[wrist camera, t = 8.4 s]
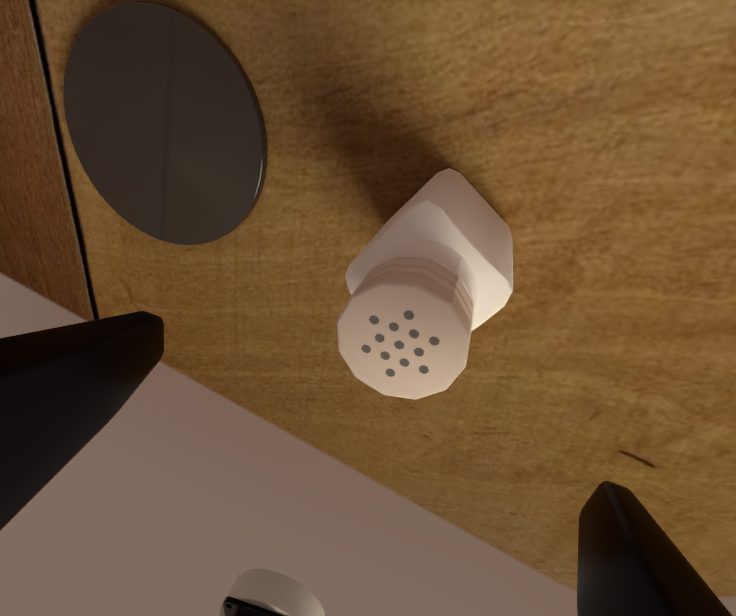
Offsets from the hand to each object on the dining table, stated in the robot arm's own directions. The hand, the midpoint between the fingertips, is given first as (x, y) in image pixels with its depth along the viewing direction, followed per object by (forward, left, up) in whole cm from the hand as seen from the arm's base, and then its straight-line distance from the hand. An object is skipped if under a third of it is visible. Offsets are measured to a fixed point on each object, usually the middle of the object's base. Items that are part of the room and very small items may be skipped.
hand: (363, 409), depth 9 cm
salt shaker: (0, 0, -12) cm, 12 cm away
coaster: (+3, +13, -12) cm, 18 cm away
